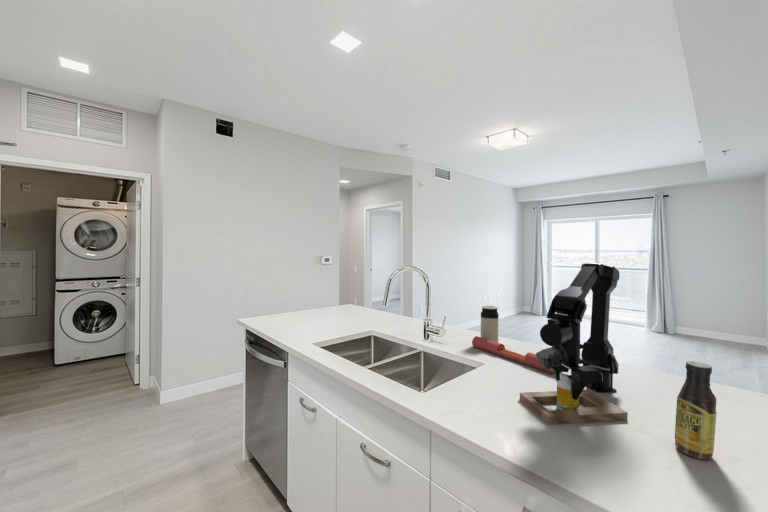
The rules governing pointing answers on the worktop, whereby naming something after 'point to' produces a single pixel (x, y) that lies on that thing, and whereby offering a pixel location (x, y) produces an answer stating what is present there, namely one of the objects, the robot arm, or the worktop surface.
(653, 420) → the worktop surface
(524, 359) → the blood vessel
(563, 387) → the supplement bottle
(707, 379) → the sauce bottle
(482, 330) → the travel mug
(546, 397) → the brown wooden frame
